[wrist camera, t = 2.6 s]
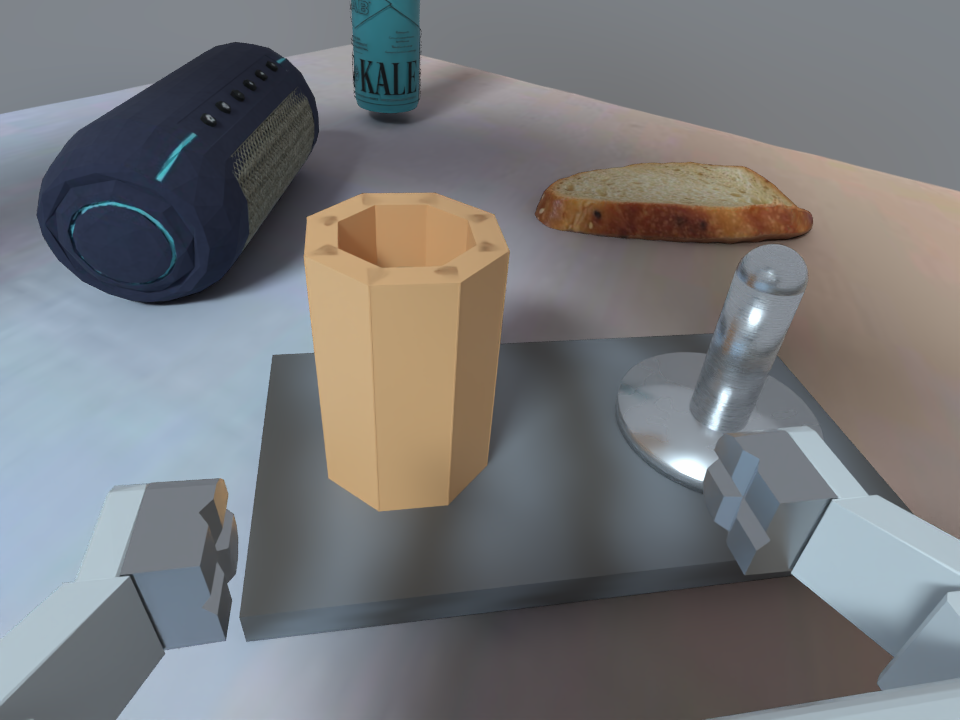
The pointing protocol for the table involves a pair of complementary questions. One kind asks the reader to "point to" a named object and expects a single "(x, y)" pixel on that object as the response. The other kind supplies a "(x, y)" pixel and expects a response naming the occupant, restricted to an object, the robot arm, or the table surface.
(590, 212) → the slice of bread
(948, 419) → the table surface
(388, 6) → the beverage bottle
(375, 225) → the sleeve
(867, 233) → the table surface
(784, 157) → the table surface
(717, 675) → the table surface
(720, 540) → the board
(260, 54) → the portable speaker
